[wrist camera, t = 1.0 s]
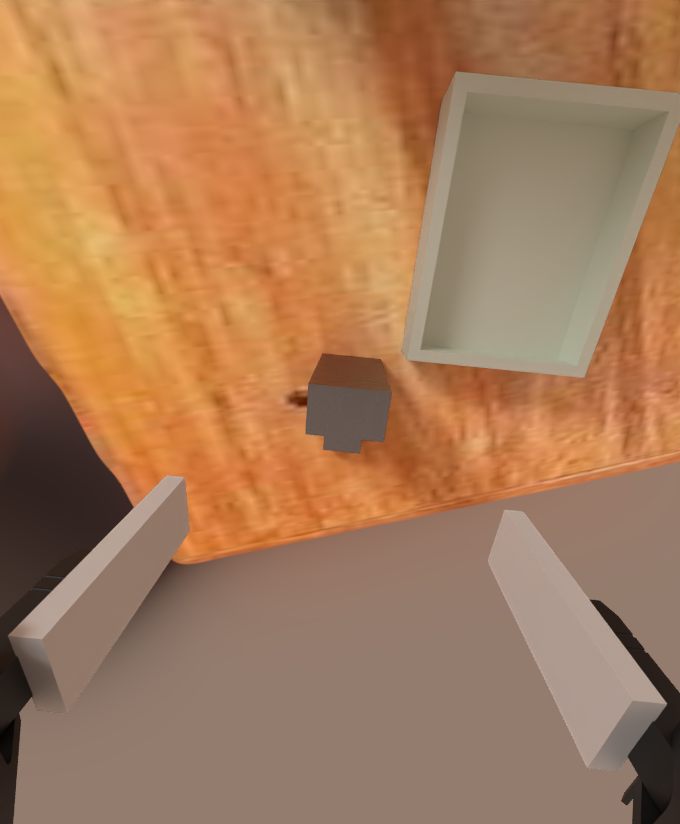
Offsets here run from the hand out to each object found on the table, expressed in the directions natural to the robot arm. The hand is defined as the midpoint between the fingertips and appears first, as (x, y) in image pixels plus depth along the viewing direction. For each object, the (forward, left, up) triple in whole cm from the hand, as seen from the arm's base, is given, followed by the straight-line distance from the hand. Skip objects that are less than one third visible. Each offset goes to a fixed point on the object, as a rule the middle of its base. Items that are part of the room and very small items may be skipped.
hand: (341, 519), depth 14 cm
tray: (-13, +13, -23) cm, 29 cm away
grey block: (+3, 0, -23) cm, 23 cm away
